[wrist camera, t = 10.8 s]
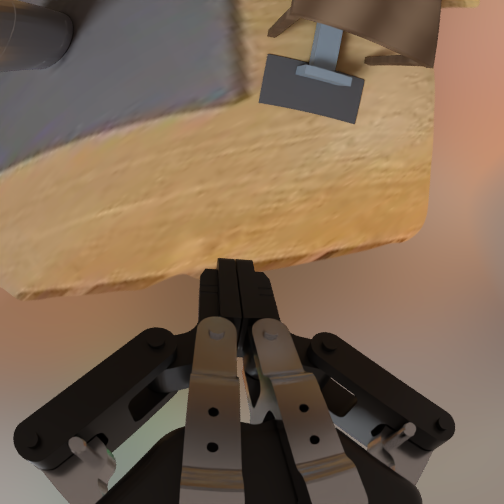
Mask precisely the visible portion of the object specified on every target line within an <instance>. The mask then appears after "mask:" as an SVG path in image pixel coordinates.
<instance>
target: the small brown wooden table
mask: <svg viewBox="0 0 504 504" xmlns="http://www.w3.org/2000/svg"><path fill="white" fill-rule="evenodd" d="M440 12H441V0H292V4H291V7H290V8H289V9H288V10H287V11H286V12H285V13H284V14H283V15H282V16H281V17H280V18H279V19H278V20H277V22H276V23H275V24H274V25H273V26H272V27H271V28H270V29H269V30H268V35H267V36H269V37H274V38H275V37H276V36H278V35H279V34H280V33H281V32H283V31H284V30H285V29H287V28H288V27H289V26H290V25H292V24H293V23H294V22H296V21H297V20H298V19H300V18H303V19H307V20H311V21H314V22H318V23H321V24H324V25H328V26H331V27H334V28H337V29H340V30H343V31H346V32H349V33H351V34H354V35H357V36H359V37H362V38H364V39H367V40H369V41H372V42H374V43H377V44H379V45H381V46H384V47H386V48H388V49H390V50H392V51H395V52H397V53H399V54H401V55H391V56H375V57H365V62H364V63H365V64H368V65H404V66H424V67H426V68H433V66H434V60H435V53H436V47H437V40H438V32H439V22H440Z"/></svg>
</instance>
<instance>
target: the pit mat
mask: <svg viewBox="0 0 504 504" xmlns="http://www.w3.org/2000/svg"><path fill="white" fill-rule="evenodd" d="M301 65H309V63H307V62H303V61H298V60H294V59H290V58H285V57H280V56H276V55H270V54H268V56H267V61H266V66H265V72H264V77H263V82H262V88H261V93H260V98H259V103H264V104H269V105H275V106H281V107H286V108H291V109H296V110H300V111H305V112H309V113H314V114H318V115H322V116H326V117H330V118H334V119H338V120H341V121H345V122H349V123H352V124H355V120H356V116H357V111H358V107H359V103H360V98H361V94H362V89H363V85H364V80H363V79H360V78H357V77H354V76H351V75H348V74H345V73H342V72H339V71H335V72H336V73H339V74H342V75H345V76H348V77H351V78H352V82H351V86H338V85H334V84H331V83H327V82H324V81H320V80H316V79H312V78H308V77H304V76H300V75H296V70H297V66H301Z"/></svg>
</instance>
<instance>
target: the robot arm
mask: <svg viewBox="0 0 504 504" xmlns="http://www.w3.org/2000/svg"><path fill="white" fill-rule="evenodd" d="M72 35H73V25H72V22H71V19H70V18H69V17H68V16H67V15H66V14H64V13H61V12H58V11H55V10H52V9H48V8H45V7H41V6H38V5H34V4H30V3H26V2H21V1H17V0H0V72H8V71H18V70H34V69H44V68H47V67H50V66H51V65H53V64H54V63H56V62H57V61H58V60H59V59H60V58H61V57H62V56H63V55H64V53H65V52H66V50H67V48H68V47H69V44H70V42H71V39H72ZM198 312H199V313H198V323H197V325H196V326H195V328H193V329H192V330H191V331H189V332H187V333H184V334H179V335H173V334H172V333H171V332H170V331H168V330H166V329H164V328H156V327H154V328H149V329H146V330H144V331H143V332H141V333H140V334H139V335H137V336H136V337H135V338H133V339H132V340H131V341H129V342H128V343H127V344H125V345H124V346H123V347H121V348H120V349H119V350H117V351H116V352H115V353H113V354H112V355H111V356H109V357H108V358H107V359H105V360H104V361H102V362H101V363H100V364H98V365H97V366H96V367H94V368H93V369H92V370H90V371H89V372H88V373H86V374H85V375H84V376H82V377H81V378H80V379H78V380H77V381H76V382H74V383H73V384H72V385H70V386H69V387H68V388H66V389H65V390H64V391H62V392H61V393H60V394H58V395H57V396H56V397H54V398H53V399H52V400H50V401H49V402H48V403H46V404H45V405H44V406H42V407H41V408H40V409H38V410H37V411H36V412H34V413H33V414H32V415H30V416H29V417H28V418H26V419H25V420H24V421H22V422H21V423H20V424H19V425H18V426H17V427H16V429H15V432H14V437H13V440H14V445H15V448H16V450H17V451H18V453H19V454H20V455H21V456H22V457H23V458H24V459H26V460H27V461H29V462H31V463H32V464H33V465H34V466H35V467H37V468H38V469H40V470H41V471H43V472H44V473H45V475H46V476H47V478H48V479H49V480H50V481H51V482H52V484H53V485H54V486H55V487H56V489H57V490H58V491H59V492H60V493H61V494H62V495H63V497H64V498H65V499H66V500H67V501H68V502H69V503H70V504H422V498H421V495H420V492H419V491H418V489H417V488H416V486H415V485H416V483H417V482H418V480H419V478H420V476H421V474H422V472H423V470H424V468H425V466H426V464H427V462H428V460H429V458H430V456H431V454H432V452H433V450H434V449H436V448H437V447H439V446H440V445H442V444H443V443H445V442H446V441H447V440H449V439H450V438H451V437H452V436H453V434H454V432H455V423H454V420H453V418H452V417H451V415H450V414H449V413H447V412H446V411H445V410H443V409H442V408H440V407H439V406H437V405H436V404H434V403H433V402H431V401H430V400H428V399H427V398H425V397H424V396H423V395H421V394H420V393H418V392H416V391H415V390H414V389H412V388H411V387H409V386H408V385H407V384H405V383H403V382H402V381H401V380H399V379H398V378H396V377H395V376H393V375H392V374H391V373H389V372H388V371H386V370H385V369H383V368H382V367H381V366H379V365H378V364H376V363H375V362H373V361H372V360H370V359H369V358H368V357H366V356H365V355H363V354H362V353H361V352H359V351H357V350H356V349H355V348H353V347H352V346H351V345H349V344H348V343H346V342H345V341H344V340H342V339H341V338H339V337H338V336H336V335H334V334H331V333H327V332H322V333H318V334H316V335H315V336H314V337H313V338H312V339H308V338H304V337H299V336H296V335H294V334H292V333H290V332H289V330H288V328H287V327H286V325H284V324H283V323H282V322H281V321H280V318H279V314H278V310H277V306H276V302H275V299H274V294H273V291H272V287H271V283H270V280H269V278H268V277H267V276H266V275H265V274H264V273H263V272H255V271H254V266H253V261H252V260H241V259H225V258H218V260H217V269H205V270H204V272H203V273H202V274H201V276H200V290H199V311H198ZM237 357H243V368H242V377H243V382H244V386H245V391H246V396H247V400H248V405H249V410H250V424H249V423H244V422H240V383H239V378H238V377H237ZM331 378H333V379H334V380H335V381H337V382H338V383H339V384H341V385H342V386H343V387H345V388H346V389H347V390H349V391H350V392H352V393H353V394H354V395H355V396H354V395H352V394H351V393H350V392H348V391H347V390H346V389H344V388H343V387H341V386H340V385H339V384H337V383H336V382H335V381H333V380H332V379H331ZM186 388H189V393H188V403H187V413H186V424H185V426H184V427H181V428H178V429H175V430H173V431H171V432H169V433H168V434H166V435H165V436H163V437H162V438H161V439H160V440H159V441H158V442H157V443H156V444H155V445H154V446H153V447H152V448H151V449H150V450H149V451H148V452H147V453H146V454H145V455H144V456H143V457H142V458H141V459H140V460H139V461H138V462H137V463H136V464H135V465H134V466H133V467H132V468H131V469H130V470H129V471H128V472H127V473H126V475H124V476H123V477H122V478H121V479H120V480H119V481H118V482H117V483H116V484H115V485H114V486H113V487H112V488H111V489H110V490H109V491H108V488H107V486H108V481H109V479H110V477H111V476H112V475H113V473H114V472H115V469H116V460H115V458H114V455H113V454H112V452H113V451H114V450H116V449H117V448H118V447H119V446H120V445H121V444H122V443H123V442H125V440H127V439H128V438H129V437H130V436H131V435H132V434H133V433H135V432H136V431H137V430H138V429H139V428H140V427H141V426H142V425H143V424H144V423H145V422H147V421H148V420H149V419H150V418H151V417H152V416H153V415H154V414H155V413H156V412H157V411H158V410H159V409H161V408H162V407H163V406H164V405H165V404H166V403H167V402H168V401H169V400H170V399H171V398H172V397H173V396H174V395H175V394H176V393H177V392H178V390H181V389H186ZM334 424H336V425H337V426H338V427H340V428H341V429H342V430H344V431H345V432H346V433H348V434H349V435H351V436H352V437H354V438H355V439H356V440H358V441H359V442H360V443H362V444H363V445H365V446H366V447H367V451H366V450H365V449H364V448H362V447H361V446H360V445H358V444H357V443H356V442H355V441H353V440H352V439H350V438H349V437H348V436H347V435H345V434H344V433H343V432H342V431H340V430H339V429H337V428H335V426H334Z"/></svg>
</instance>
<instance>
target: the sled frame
mask: <svg viewBox="0 0 504 504" xmlns="http://www.w3.org/2000/svg"><path fill="white" fill-rule="evenodd" d="M342 33H343V30H340V29H337V28H334V27H331V26H328V25H324V24H321V23H318V22H317V26H316V31H315V36H314V41H313V46H312V51H311V56H310V61H309V65H301V66H297V70H296V75H300V76H304V77H308V78H312V79H316V80H320V81H324V82H327V83H331V84H334V85H338V86H351V82H352V78H351V77H348V76H345V75H342V74H339V73H336V72H335V69H336V64H337V59H338V54H339V49H340V43H341V38H342Z"/></svg>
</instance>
